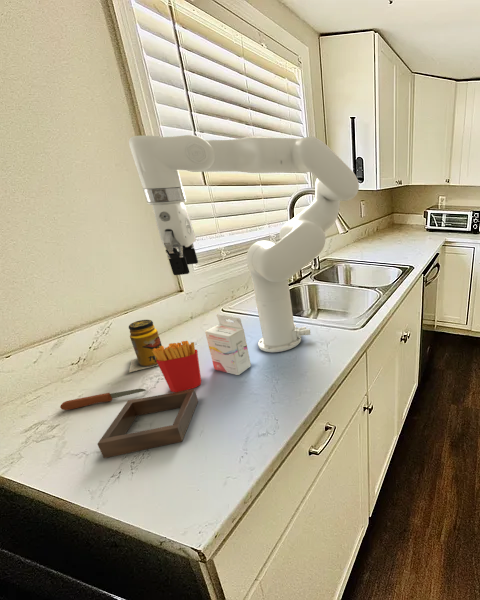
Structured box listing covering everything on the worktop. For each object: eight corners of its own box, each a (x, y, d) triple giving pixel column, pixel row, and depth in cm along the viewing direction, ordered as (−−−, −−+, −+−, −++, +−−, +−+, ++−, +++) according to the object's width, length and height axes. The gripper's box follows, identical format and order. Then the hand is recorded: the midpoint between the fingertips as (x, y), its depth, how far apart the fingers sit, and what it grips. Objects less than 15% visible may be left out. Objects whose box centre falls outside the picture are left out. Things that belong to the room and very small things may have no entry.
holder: (198, 401, 75) (194, 388, 74) (182, 441, 64) (177, 427, 63) (132, 413, 72) (127, 400, 70) (103, 458, 60) (97, 443, 59)
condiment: (167, 363, 91) (155, 324, 86) (128, 373, 86) (114, 332, 82) (167, 352, 96) (156, 315, 92) (131, 360, 92) (117, 322, 88)
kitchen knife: (61, 412, 72) (58, 404, 72) (64, 408, 73) (61, 401, 73) (146, 394, 78) (143, 387, 77) (147, 391, 79) (145, 384, 78)
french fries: (205, 377, 84) (194, 336, 80) (204, 385, 81) (192, 343, 76) (166, 386, 81) (152, 343, 76) (163, 395, 77) (148, 351, 73)
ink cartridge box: (213, 370, 87) (200, 320, 82) (227, 360, 92) (216, 313, 86) (238, 376, 85) (227, 325, 79) (252, 366, 89) (242, 317, 84)
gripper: (174, 198, 67) (196, 276, 74) (192, 193, 83) (209, 258, 89) (131, 200, 65) (158, 281, 72) (158, 195, 80) (178, 262, 87)
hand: (186, 268), depth 80 cm, fingers open, 9 cm apart
